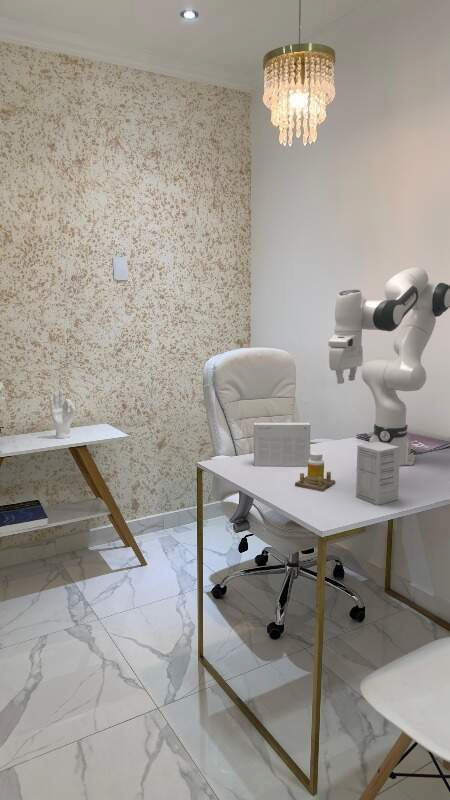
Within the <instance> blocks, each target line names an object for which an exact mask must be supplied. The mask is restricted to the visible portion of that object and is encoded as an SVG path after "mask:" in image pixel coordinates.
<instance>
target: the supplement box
mask: <svg viewBox="0 0 450 800" xmlns="http://www.w3.org/2000/svg"><path fill="white" fill-rule="evenodd" d="M356 447H357V450H356V474H355V475H356V479H355V481H356V482H355V497H356V498H358V499H361V500H364V501H366V502H369V503H371V504H375V505H377V506H379V505H383V504H386V503H390V502H393V501H398V499H399V481H400V480H399V479H400V477H399V476H400V466H399V458H400V447H398V446H394V445H389V444H385V443H381V442H372V443H370V442H367V443H362V444H358V445H357V446H356Z"/></svg>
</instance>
